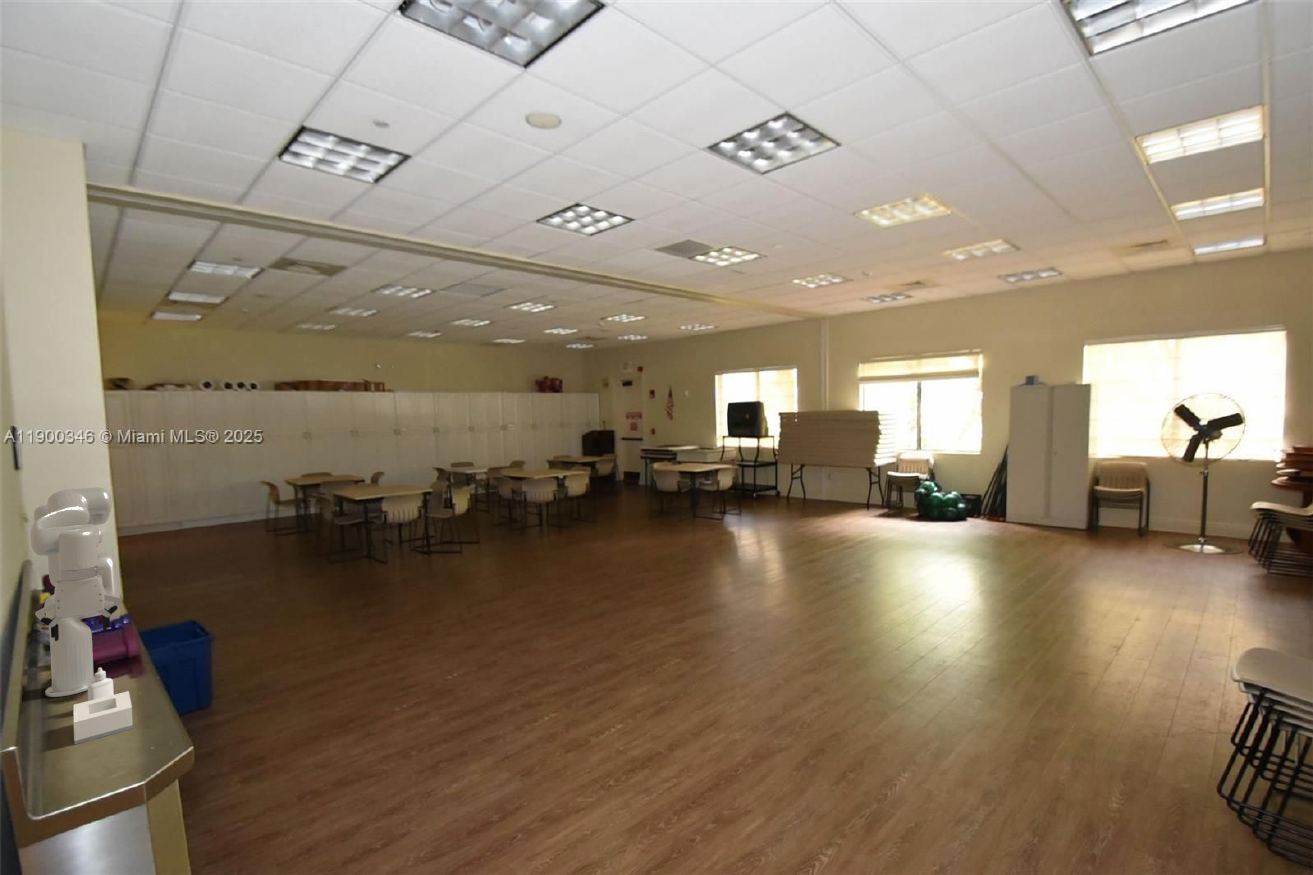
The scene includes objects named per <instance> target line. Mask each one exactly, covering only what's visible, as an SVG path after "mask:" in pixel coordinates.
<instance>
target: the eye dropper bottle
mask: <svg viewBox="0 0 1313 875" xmlns="http://www.w3.org/2000/svg"><path fill="white" fill-rule="evenodd" d="M106 673H107V672H106V671H105V670H103V668H102V667H98V669H97V672H95V673H94V676H95V681H94V682H93V683H91V684H90V685H89V686H88V690H87V701H90V700H95V699H99V698H103V697H107V696H111V695H115V693H114V692H115V691H114V680H113V679H112V678H110V677H107V674H106Z"/></svg>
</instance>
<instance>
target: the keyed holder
mask: <svg viewBox="0 0 1313 875" xmlns="http://www.w3.org/2000/svg"><path fill="white" fill-rule="evenodd" d="M132 728H134V726H133V706H132V700H131V695H130V691H129V690H127V691H124V692H120V693H116V694H115V693H114V695H111V696H107V697H103V698H99V699H95V700H90V701H88V700H87V701H84V702H83V701H82V702H80V703H75V704H73V738H74V742H73V743H74V745H75V744H76V745H79V744H82V743H85V742H90V741H94V740H97V739H100V738H103V737H107V736H111V735H114V734H118V732H119V733H121V732H125V731H129V730H133V729H132Z"/></svg>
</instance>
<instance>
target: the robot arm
mask: <svg viewBox="0 0 1313 875" xmlns="http://www.w3.org/2000/svg"><path fill="white" fill-rule="evenodd" d="M112 507H113V498H112V495H111V494H110V492H109V491H108V489H105V488H104V487H103V488H102V487H88V488H87V487H86V488H72V489H71V488H69V489H62V490H59V491H56V492H54V493H52V494H51V495H50V496H49V497H48V499H47V503H46V504H42V505H40V506H38V507H36V508H35V510H34V511H33V520H34V523H33V524H32V526H31V529H30V535H29V536H30V545H31V549H32V551H33V552H34V554H36V555H39V556H44V557H45V556H47V564H48V578H49V582H50V584H51V585H52V586H53V587H54V593H53V594H52V595H50V596H48V597H47V598H46V599H45V602H44V607H43V608H40V609H39V610H37V611H35V616H36V618H37V619H39V621H40V622H41V623H43V624H45V625H47V626H48V631H49V646H50V664H51V665H50V669H51V686H50V687H47V688H46V690H45V696H47V697H49V698H50V697H51V698H58V697H65V696H66V697H67V696H71V695H75V694H79V693H83V692H85V691H88V686H89V685H90V684H91V683H93V682H94V681H95V675H94V659H93V658H94V657H93V656H94V655H93V654H94V653H93V652H94V651H93V640H92V639H93V637H92V636H93V633H92V629H91V628H90V626H88V625H87V624H86V623H85V622H83V621H81V620H83V619H86V618H92V617H97V616H102V631H103V633H106V632H107V629H108V628H110V627H111V623H110V621H111V620H110V617H111V616H112V615H113V614H114V613H115V612H116V611H117V610H118V609H119V608H120V605H121V604H122V601H123V598H121V593H120V587H119V586H120V584H119V576H118V566H117V562H116V561H117V560H116V558H115V557H114V555H113V554H111V553H109V552H98V551H97V548H98V547H99V546H100V544H101V543H102V542H103V531H102V529H101V528H99V525H100V526H101V525H103V524H105V523H106V522H108V520H109V518H110V514H111V512H112V511H111V510H112Z"/></svg>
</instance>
